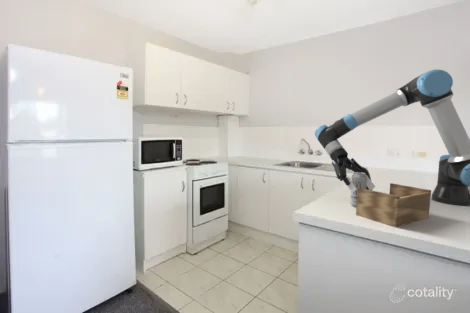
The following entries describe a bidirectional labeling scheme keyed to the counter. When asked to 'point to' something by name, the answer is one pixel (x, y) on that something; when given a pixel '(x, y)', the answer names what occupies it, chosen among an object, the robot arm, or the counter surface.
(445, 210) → the counter surface
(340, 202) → the counter surface
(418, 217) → the oak crate
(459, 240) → the counter surface
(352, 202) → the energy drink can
